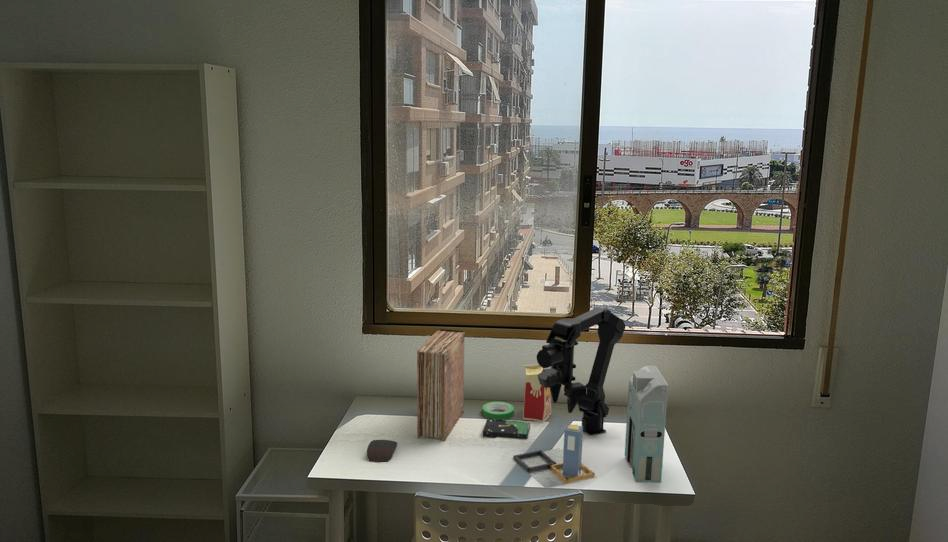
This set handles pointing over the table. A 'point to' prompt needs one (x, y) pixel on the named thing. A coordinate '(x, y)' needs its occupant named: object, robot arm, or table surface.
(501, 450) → the table surface
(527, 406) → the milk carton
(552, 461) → the panel
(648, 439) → the device
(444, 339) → the book
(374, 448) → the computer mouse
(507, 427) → the disk drive
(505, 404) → the tape roll
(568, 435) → the plug
